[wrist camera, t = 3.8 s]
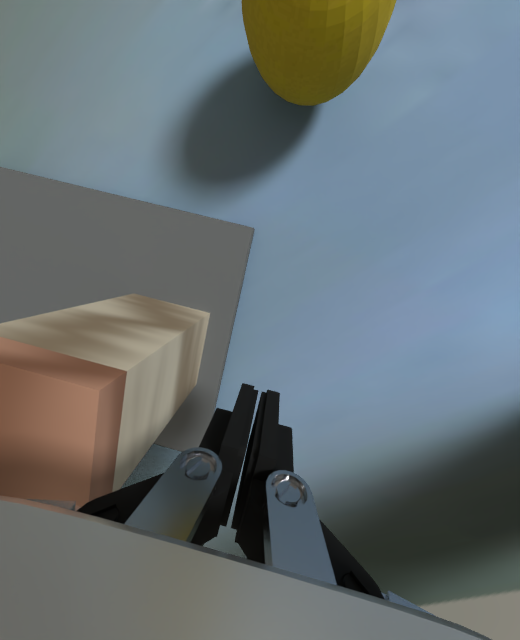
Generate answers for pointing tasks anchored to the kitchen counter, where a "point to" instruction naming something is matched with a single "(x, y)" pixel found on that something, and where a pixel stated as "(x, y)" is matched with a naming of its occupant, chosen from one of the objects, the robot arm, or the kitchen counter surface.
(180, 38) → the kitchen counter surface
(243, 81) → the kitchen counter surface
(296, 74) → the lemon
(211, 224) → the rubber mat
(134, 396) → the wooden block
